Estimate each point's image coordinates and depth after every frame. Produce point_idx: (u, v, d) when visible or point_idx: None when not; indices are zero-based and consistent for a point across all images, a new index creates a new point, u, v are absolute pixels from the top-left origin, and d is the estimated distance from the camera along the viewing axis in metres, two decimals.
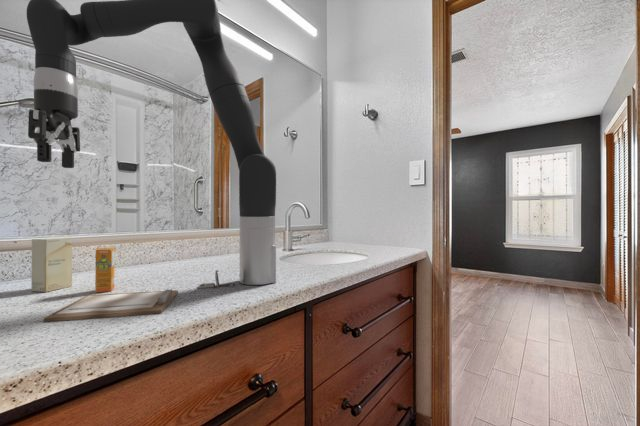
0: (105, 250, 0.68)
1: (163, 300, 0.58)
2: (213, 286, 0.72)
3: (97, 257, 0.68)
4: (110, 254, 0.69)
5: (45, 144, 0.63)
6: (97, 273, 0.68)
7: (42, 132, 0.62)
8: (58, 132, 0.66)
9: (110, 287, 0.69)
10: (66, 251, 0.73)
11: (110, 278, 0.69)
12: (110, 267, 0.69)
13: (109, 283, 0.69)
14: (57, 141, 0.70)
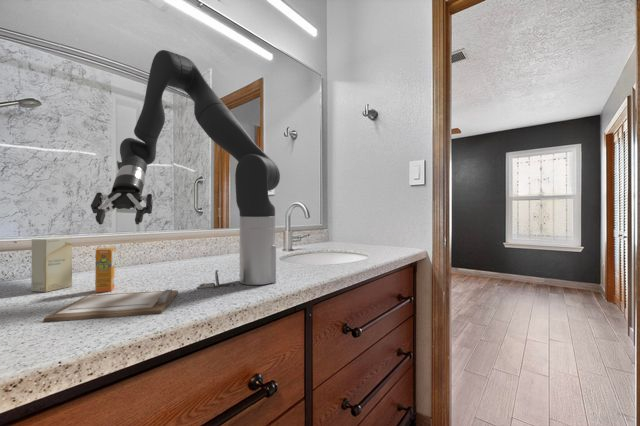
0: (105, 250, 0.68)
1: (163, 300, 0.58)
2: (213, 286, 0.72)
3: (97, 257, 0.68)
4: (110, 254, 0.69)
5: (97, 210, 0.80)
6: (97, 273, 0.68)
7: (92, 204, 0.81)
8: (111, 200, 0.82)
9: (110, 287, 0.69)
10: (66, 251, 0.73)
11: (110, 278, 0.69)
12: (110, 267, 0.69)
13: (109, 283, 0.69)
14: (135, 210, 0.86)
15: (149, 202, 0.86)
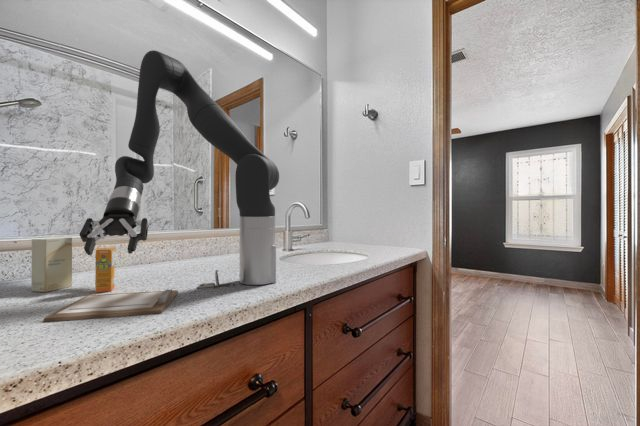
0: (105, 250, 0.68)
1: (163, 300, 0.58)
2: (213, 286, 0.72)
3: (97, 257, 0.68)
4: (110, 254, 0.69)
5: (87, 239, 0.73)
6: (97, 273, 0.68)
7: (81, 232, 0.73)
8: (102, 227, 0.75)
9: (110, 287, 0.69)
10: (66, 251, 0.73)
11: (110, 278, 0.69)
12: (110, 267, 0.69)
13: (109, 283, 0.69)
14: (128, 236, 0.78)
15: (144, 228, 0.78)
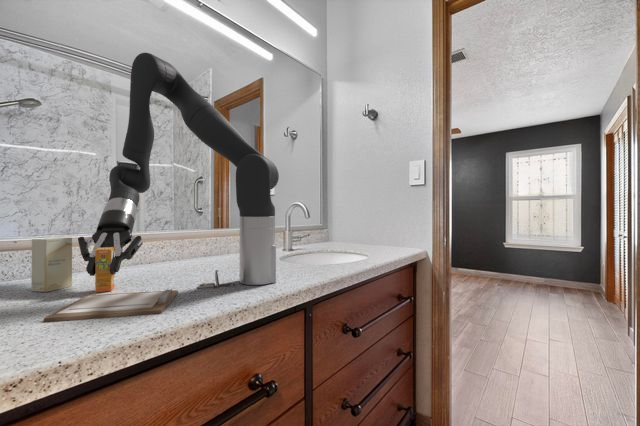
0: (105, 250, 0.68)
1: (163, 300, 0.58)
2: (213, 286, 0.72)
3: (97, 257, 0.68)
4: (110, 254, 0.69)
5: (89, 259, 0.69)
6: (97, 273, 0.68)
7: (81, 251, 0.69)
8: (100, 243, 0.71)
9: (110, 287, 0.69)
10: (66, 251, 0.73)
11: (110, 278, 0.69)
12: None
13: (109, 283, 0.69)
14: None
15: (131, 246, 0.73)
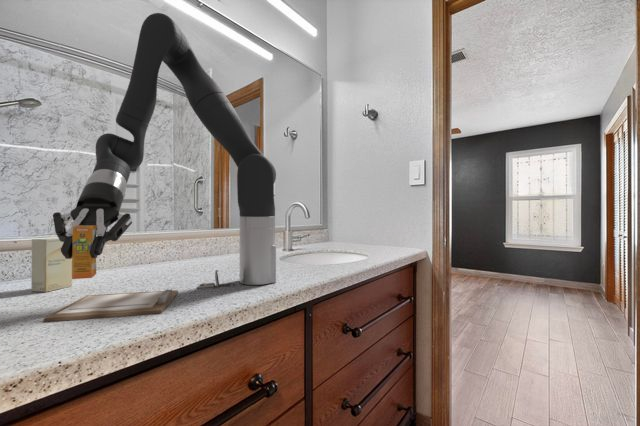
0: (84, 228, 0.56)
1: (163, 300, 0.58)
2: (213, 286, 0.72)
3: (74, 236, 0.56)
4: (90, 233, 0.57)
5: (65, 238, 0.57)
6: (74, 255, 0.56)
7: (56, 229, 0.57)
8: (79, 220, 0.59)
9: (90, 273, 0.57)
10: None
11: (90, 262, 0.57)
12: None
13: (89, 268, 0.57)
14: None
15: (118, 225, 0.61)
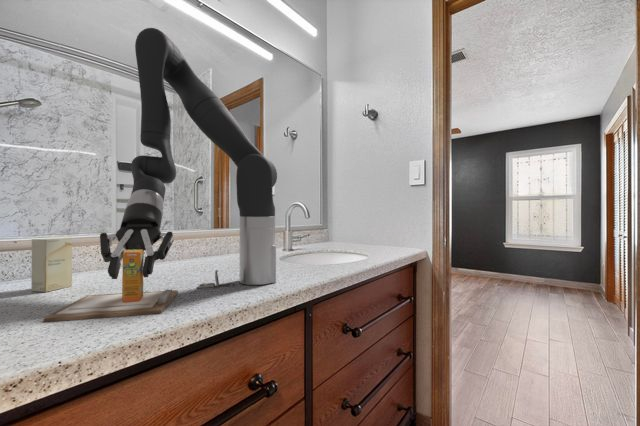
0: (133, 253, 0.58)
1: (163, 300, 0.58)
2: (213, 286, 0.72)
3: (124, 261, 0.58)
4: (139, 257, 0.59)
5: (110, 259, 0.58)
6: (124, 280, 0.58)
7: (101, 250, 0.59)
8: (124, 241, 0.61)
9: (139, 296, 0.59)
10: (66, 251, 0.73)
11: (139, 286, 0.59)
12: (139, 273, 0.59)
13: (138, 291, 0.59)
14: None
15: (164, 244, 0.63)
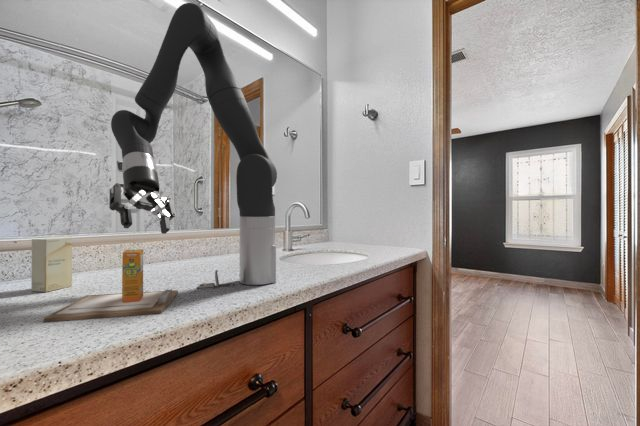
0: (133, 253, 0.58)
1: (163, 300, 0.58)
2: (213, 286, 0.72)
3: (124, 261, 0.58)
4: (139, 257, 0.59)
5: (123, 210, 0.65)
6: (124, 280, 0.58)
7: (115, 199, 0.65)
8: (137, 199, 0.68)
9: (139, 296, 0.59)
10: (66, 251, 0.73)
11: (139, 286, 0.59)
12: (139, 273, 0.59)
13: (138, 291, 0.59)
14: (153, 213, 0.74)
15: (173, 208, 0.76)
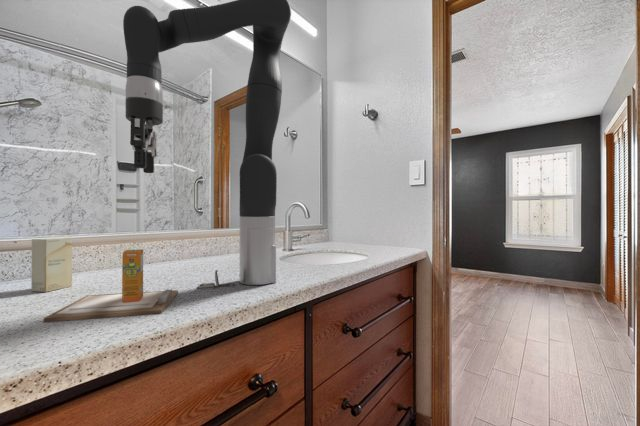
0: (133, 253, 0.58)
1: (163, 300, 0.58)
2: (213, 286, 0.72)
3: (124, 261, 0.58)
4: (139, 257, 0.59)
5: (142, 151, 0.65)
6: (124, 280, 0.58)
7: (143, 140, 0.64)
8: (150, 139, 0.68)
9: (139, 296, 0.59)
10: (66, 251, 0.73)
11: (139, 286, 0.59)
12: (139, 273, 0.59)
13: (138, 291, 0.59)
14: None
15: (155, 148, 0.76)
